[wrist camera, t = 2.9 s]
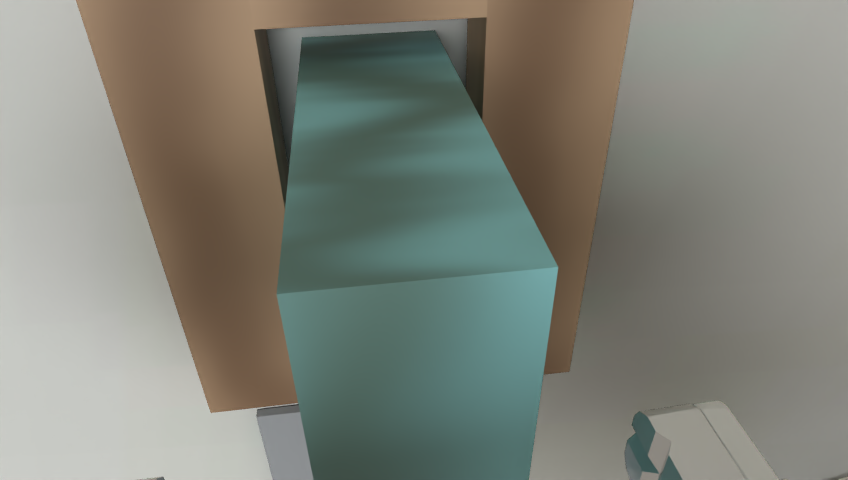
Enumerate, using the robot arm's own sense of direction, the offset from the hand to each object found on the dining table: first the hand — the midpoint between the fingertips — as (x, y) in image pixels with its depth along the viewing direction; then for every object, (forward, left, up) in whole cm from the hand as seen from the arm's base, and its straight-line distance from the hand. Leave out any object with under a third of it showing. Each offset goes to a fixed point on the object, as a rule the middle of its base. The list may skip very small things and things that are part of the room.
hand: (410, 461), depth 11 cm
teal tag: (0, 0, -12) cm, 12 cm away
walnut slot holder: (0, 0, -12) cm, 12 cm away
